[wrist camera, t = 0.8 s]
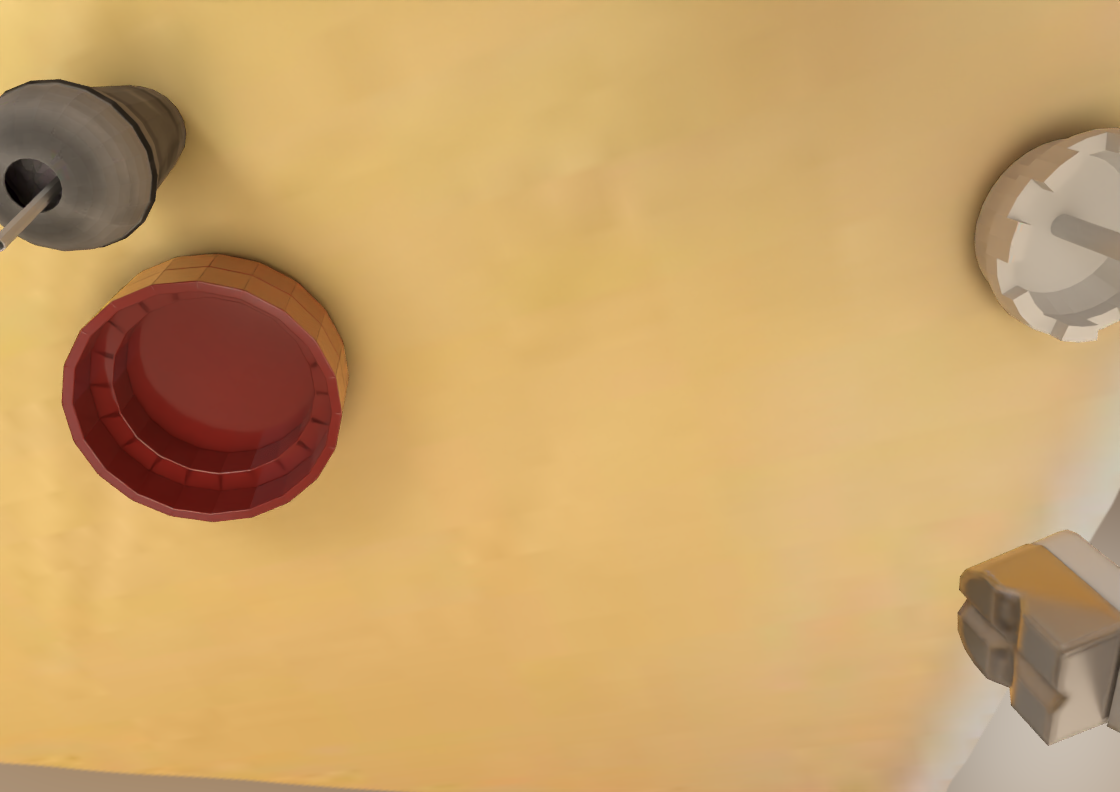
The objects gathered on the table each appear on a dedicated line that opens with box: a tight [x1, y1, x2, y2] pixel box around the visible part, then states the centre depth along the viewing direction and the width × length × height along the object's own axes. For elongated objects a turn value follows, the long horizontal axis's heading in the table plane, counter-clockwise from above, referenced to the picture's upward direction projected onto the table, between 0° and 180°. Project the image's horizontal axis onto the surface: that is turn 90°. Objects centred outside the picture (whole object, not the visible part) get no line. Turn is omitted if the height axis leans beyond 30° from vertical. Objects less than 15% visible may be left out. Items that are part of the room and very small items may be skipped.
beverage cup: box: [0, 79, 186, 252], centre depth 40 cm, size 7×7×20 cm
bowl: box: [62, 254, 349, 522], centre depth 52 cm, size 15×15×6 cm
